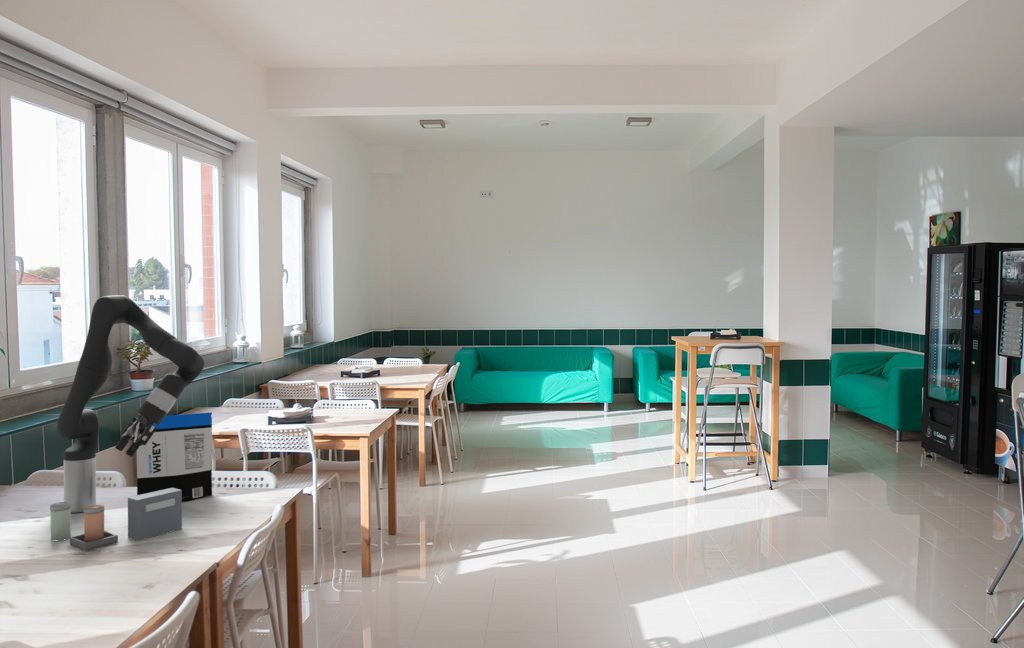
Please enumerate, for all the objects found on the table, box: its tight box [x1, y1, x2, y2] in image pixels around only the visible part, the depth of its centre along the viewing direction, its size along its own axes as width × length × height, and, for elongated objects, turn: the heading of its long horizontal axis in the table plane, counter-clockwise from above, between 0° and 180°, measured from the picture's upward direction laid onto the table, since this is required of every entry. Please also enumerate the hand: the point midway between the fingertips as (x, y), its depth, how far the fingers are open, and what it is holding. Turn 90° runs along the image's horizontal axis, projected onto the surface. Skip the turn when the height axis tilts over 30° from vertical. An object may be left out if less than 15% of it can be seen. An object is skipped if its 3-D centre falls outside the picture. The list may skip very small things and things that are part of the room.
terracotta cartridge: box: [83, 504, 105, 543], centre depth 211 cm, size 5×5×10 cm
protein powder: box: [136, 412, 213, 503], centre depth 257 cm, size 10×24×30 cm, turn 123°
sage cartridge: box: [49, 501, 72, 541], centre depth 215 cm, size 5×5×10 cm
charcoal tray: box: [69, 529, 119, 552], centre depth 211 cm, size 9×9×2 cm
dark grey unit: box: [127, 488, 183, 542], centre depth 221 cm, size 6×14×12 cm, turn 146°
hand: (123, 452), depth 218 cm, fingers open, 8 cm apart
